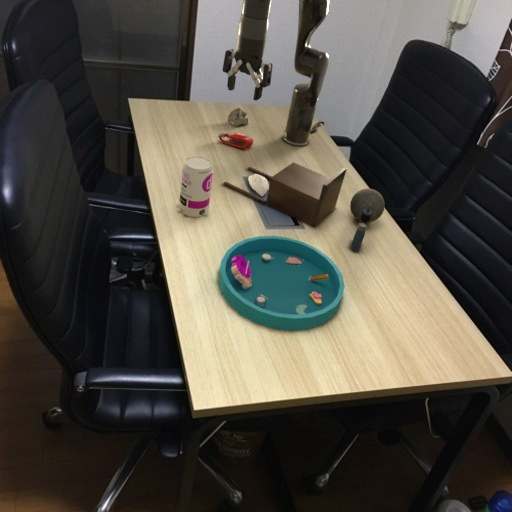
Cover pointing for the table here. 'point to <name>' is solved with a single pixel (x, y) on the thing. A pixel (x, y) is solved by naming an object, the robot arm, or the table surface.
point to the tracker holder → (237, 137)
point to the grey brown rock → (237, 117)
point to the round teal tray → (281, 283)
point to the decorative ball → (367, 204)
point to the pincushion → (259, 183)
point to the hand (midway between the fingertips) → (243, 94)
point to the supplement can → (195, 186)
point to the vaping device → (361, 230)
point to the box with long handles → (300, 192)
